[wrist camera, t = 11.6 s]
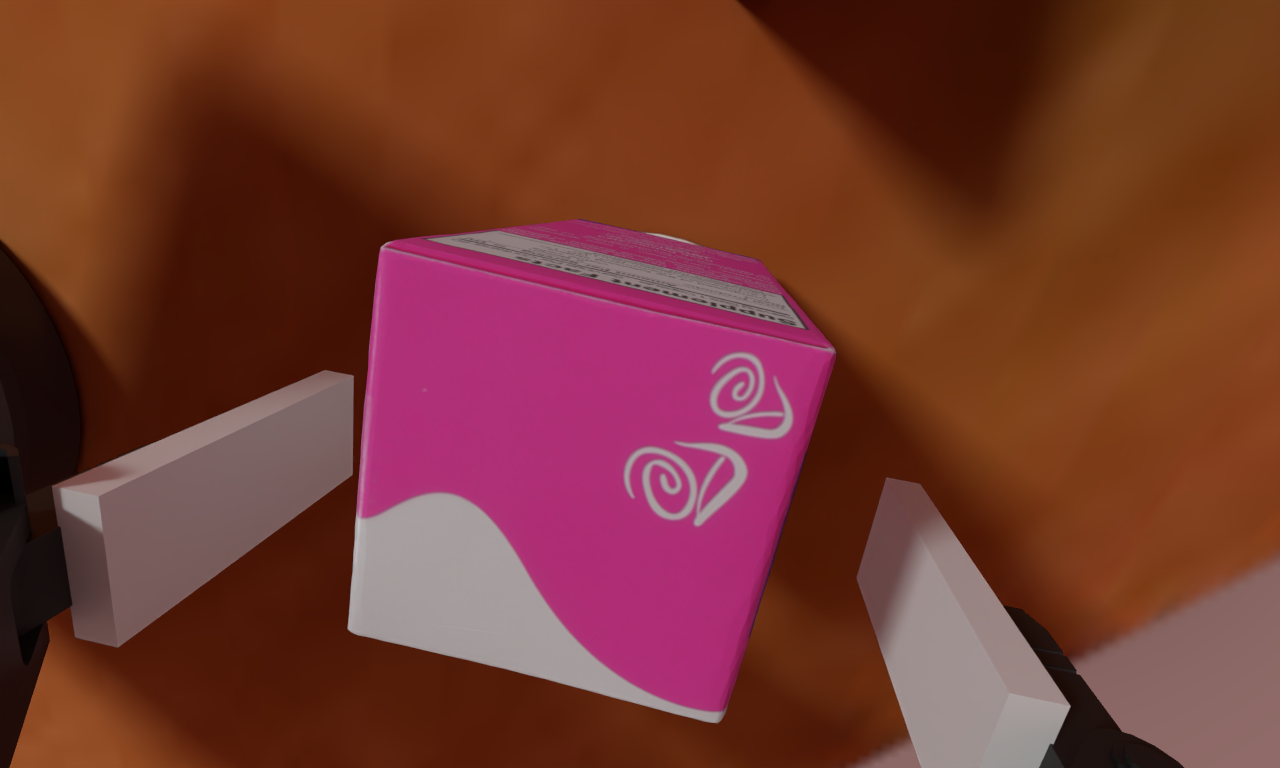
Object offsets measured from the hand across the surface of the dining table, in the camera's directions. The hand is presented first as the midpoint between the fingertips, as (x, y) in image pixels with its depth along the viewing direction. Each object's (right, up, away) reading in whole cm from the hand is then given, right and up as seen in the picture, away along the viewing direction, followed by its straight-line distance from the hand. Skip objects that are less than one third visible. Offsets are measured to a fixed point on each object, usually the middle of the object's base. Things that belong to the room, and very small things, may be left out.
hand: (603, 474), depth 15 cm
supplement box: (+1, +4, +4) cm, 6 cm away
